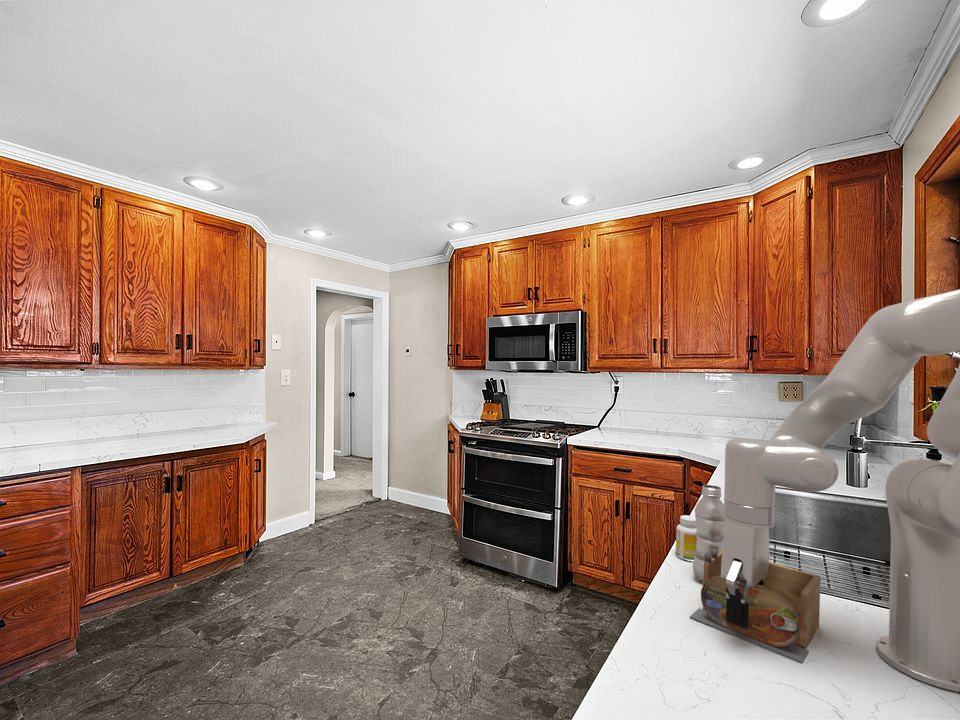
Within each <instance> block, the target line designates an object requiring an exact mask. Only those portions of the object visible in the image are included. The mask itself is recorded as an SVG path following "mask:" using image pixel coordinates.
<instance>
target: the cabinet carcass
mask: <svg viewBox="0 0 960 720" xmlns="http://www.w3.org/2000/svg"><path fill="white" fill-rule="evenodd" d="M722 550H723V549H722ZM722 550H721V551H719V552H718V550H716V549H711V554H710V553H705V556H704V561H705V562H704V582H703V585H704V583H705V582H706V581H707V580H709V579H710V578H713V577H716V576H719V575H721V563H722ZM765 578H766V584H765V585H763V586H766V587H768V588H771V589H774V590H777V591H779V592H781V593H783V594H785V595H786V596H787V597H789V598H790V599H791V600H792V601H793V602H794V604H795V605H796V606H797V608H798V610H799V612H800V614H801V617H802V630H801V633H800V635H799V637H798V638H797V640H796V641H795V642H794V643H793V645H796V646H798V647H801V648H804V649H806V650H808V649H807V648H808V647H809V645H810V643H811V642H812V640H813V638H814V637H815V636H816V634H817V632H818V631H819V628H820V605H821V603H820V602H821V576H820V575H817V574H813V573H809V572H806V571H802V570H799V569H795V568H792V567H790V566H789V567H788V566H785V565H781V564H778V563H775V562H771V561H769V567H768V572H767V574H766V576H765ZM739 579H740V578H739ZM742 580H743V579H742ZM703 585H702V586H703ZM702 610H705V609H704V607H703V606H702Z"/></svg>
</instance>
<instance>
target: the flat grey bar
mask: <svg viewBox="0 0 960 720" xmlns="http://www.w3.org/2000/svg"><path fill="white" fill-rule="evenodd" d="M689 619H691V620H693V621H696V622H698V623H700V624H703V625H706V626H708V627H710V628H713V629H715V630H717V631H721V632H723V633H725V634H727V635H730V636H733V637H735V638H738V639H739V640H742V641H745V642H747V643H750V644H752V645H755V646H758V647H760V648H762V649H764V650H767V651H769V652H771V653H775V654H777V655H779V656H782V657H784V658H787V659H789V660H791V661H794V662H796V663H799V664H803V663H804V661H805V660H806V658H807V656H808V655H809V652H810V651H809V650H808V649H804V648H801V647H798V646H796V645H793V644H791V645H789V646H785V647H776V646H772V645H769V644H766V643H764V642H761V641H759V640H756V639H753V638H751V637H748V636H746V635H743V634H741V633H738V632H735V631H733V630H730V629H727V628H725V627H722V626H720V625H719V624H717V623H716V622H715V621H714V620H712V619H711V618H710V616H709V615H708V614H707V612H706V611H705V610H703V608H698V609H697V610H695V612H693V613H692V614H691V615H689Z"/></svg>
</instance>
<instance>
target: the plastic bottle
mask: <svg viewBox="0 0 960 720" xmlns="http://www.w3.org/2000/svg"><path fill="white" fill-rule="evenodd" d="M701 487H702V490H701V495H702V498H701V499H699V501H698V502H697V504H696V505H695V508H694V515H695V516H694V517H695V518H696V527H697V543H696V552H695V557H694V561H693V562H692V572H693V575H694V576H695V577H696V578H697V580H699V581H701V582H703V583H704V562H705V561H704V556H705V553H710V554H711V549H716V550H718V552H719V551H721V550H722V549H723V539H724V532H725V526H726V522H727V520H726V519H725V518H724V502H723V501H722V500H721V498H722V488H721V487H720V486H718V485H713V484H703V485H702V486H701Z"/></svg>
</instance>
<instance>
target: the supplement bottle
mask: <svg viewBox="0 0 960 720" xmlns="http://www.w3.org/2000/svg"><path fill="white" fill-rule="evenodd" d="M679 522H680V523H679V524H678V525H677V526H676V533H675V534H676V537H675V539H676V540H675V556H676V555H677V556H678V557H679V558H682V559H687V560H694V557H695V552H696V543H697V527H696V518H695V516H693V515H686V514H685V515H681V516H680V517H679ZM677 556H676V557H677ZM678 557H677V558H678ZM679 558H678V559H679Z"/></svg>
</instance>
